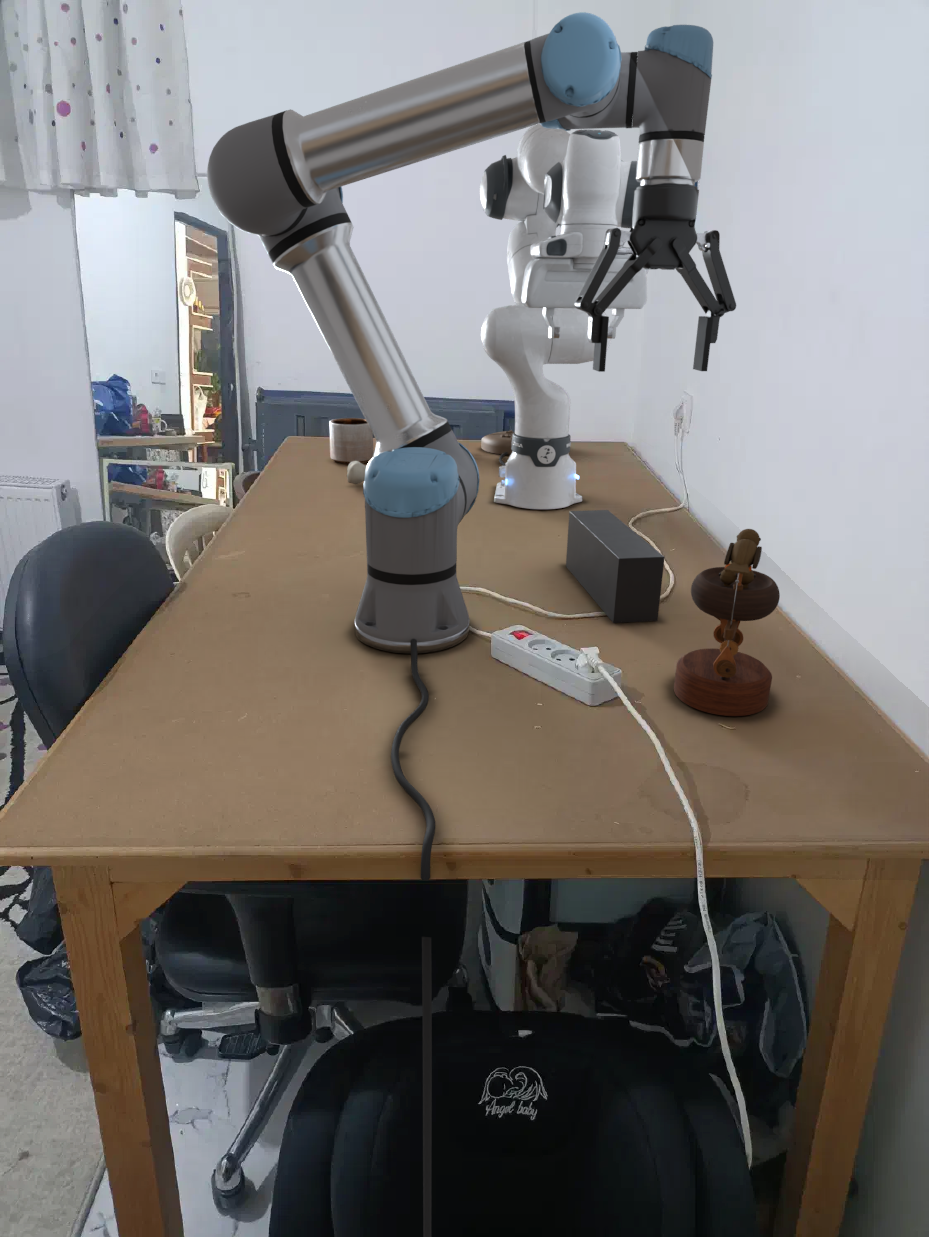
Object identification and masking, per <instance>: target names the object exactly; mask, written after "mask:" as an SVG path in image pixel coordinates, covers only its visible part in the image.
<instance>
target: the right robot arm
mask: <svg viewBox="0 0 929 1237" xmlns="http://www.w3.org/2000/svg"><path fill="white" fill-rule="evenodd" d="M621 151H622V150H621V140H620V136H619V134H617V133H615V132H614V131H611V130H601V129H576V130H575V131H573V132H571V133H569V131H565V130H563V129H549V128H544V127H543V126H541V124H540V123H539V124H536V125H533V126H530V127H528V129H526V130H525V131H524V133H523V134H522V135H521V137H520V140H519V142H518V145H517V151H516V156H515V157H513V158H512V157H508V158H507V154H504V155H502V156H501V159H499V160H496V161H494V162H492V163H491V164H489V165H488V166H487V167H486V168H485V169H484V171H483V173H482V174H483V175H482V177H481V180H480V183H479V201H480V203H481V207H482V210H483V212H484V214H485V215H486V216H487V217H489V218H491V219H495V220H500V221H502V220H509V221H517V222H518V221H519V222H518V223H516V224H515V226H514V227H513V228H512V229H511V231H510V232H509V236H508V238H507V250H506V263H507V264H506V265H507V272H508V273H507V274H508V277H509V278H508V279H509V285H510V292H511V297H512V300H513V301H514V303H515V304H511V305H504V306H501V307H496V308H492V309H491V310H490V311H489V312H488V313H487V314H486V316H485V317H484V320H483V322H482V324H481V329H480V341H481V345H482V348H483V350H484V352H485V354H486V355H487V356H488V358H490V359H491V361H493V362H494V363H496V364H497V365H498V367H500V369H502V371H503V373H504V374H505V375H506V376H507V378H508V381H509V383H510V385H511V389H512V392H513V399H514V400H513V401H514V431H513V432H514V433H513V437H512V442H511V443H512V447H511V449H512V453H511V455H509V457H508V459H507V461H506V462H504V461H503V458H504V457H505V456H508V455H507V454H508V452H505V453H503V454H499V455H500V456H499V457H498V462H499V464H500V465H501V466H499V467H498V477H499V478H504V479H501V480H500V482H497V484H496V488H495V492H494V493H495V494H494V496H493V497H494V498H493V503H496V504H502V505H508V506H512V507H516V508H522V509H530V510H556V509H562V508H567V507H569V506H571V505H573V504H578V503H581V502H583V496H582V495H580V494H579V493H577V491H576V490H577V489H576V487H577V486H576V485H577V480H580V475H578V474H577V463H576V461H574V459H573V458H571V456H570V454H569V453H571V446H572V441H571V435H570V434H569V433H570V419H571V404H572V402H571V397H570V395H569V393H568V392H567V390H566V389H565V388H564V387H562V386H560V385H559V384H557V383H556V382H554V381H553V380H550V379H548V378H547V377H545V374H544V370H543V368H544V365H578V364H584V363H589V362H593V358H594V343H590V342H589V341H588V325H589V316H588V314H587V313H586V312H584V311H582V310H579V309H577V308H576V307H575V302H576V300H577V298H578V296H579V294H580V292H581V290H582V288H583V286H584V284H585V282H586V280H587V278H588V276H589V274H590V272H591V270H592V269H593V267H594V265H595V263H596V261H597V259H598V257H599V255H600V253H601V251H602V249H603V245H604V239H605V233H606V231H607V230H608V229H612V228H622V229H623V228H624V229H629V230H630V229H631V227H632V216H633V204H634V192H635V190H636V188H637V187H639V186H640V182H637V180H636V170H637V160H631V161H625V160H622V152H621ZM558 227H559V229H560V232H559V234H558V235H556V233H557V228H558ZM632 254H633V252H632V250H631V248H630V247H627V246H623V247H622V248H621V249H618V252H617V254H616V256H615V258H614V260H613V262H612V264H611V266H610V268H609V270H608V272H607V274H606V276H605V278H604V280H603V282H602V283H601V285H600V287H599V289H598V291H597V293H596V295H595V297H594V299H593V301H592V303H593V302H594V301H595V299H596V298H597V297H598V296H599V295H600V294H601V292H602V291H603V290H604V289H605V288H606V286H607V285H608V284H609V283H610V282H611V280H612V279H613V278H614V277H615V276H616V274H617V273H618V272H619V271H620V270H621V268H622V267H623V265H624V263H625V262H626V261H627V260H628V259H629V257H630V256H631V255H632ZM649 270H650V269H644V268H642V269H641V270H640V271H639V272H638V273H636V275H635V276H634V277H633V278H632V279H631V280H630V282H629V283H628V284H627V285H626V286H625V288H624V289H623V290H622V291H621V292H620V294H619V295H618V296H617V297H616V298H615V299H614V301H613V302H612V303H611V304H610V305H609V307H608V308H607V309H606V310H609V309H611V316H614V317H613V318H612V320H609V323H608V336H607V350H606V352H607V351H608V350H609V349H610V345H611V344H612V343H611V342H612V340H613V339H616V336H617V328H618V327H619V325H620V324H621V322H622V320H623V319H624V317H625V310H642V309H643V308H644V307H645V305H646V304H647V301H648V276H647V275H648V273H649ZM602 316H608V315H607V314H606V313H605V311H604V312H603V314H602Z"/></svg>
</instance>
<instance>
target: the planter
mask: <svg viewBox="0 0 929 1237" xmlns="http://www.w3.org/2000/svg"><path fill="white" fill-rule="evenodd" d="M328 424H329V425H328V426H329V453H330V454H329V455H330V456H329V457H330V459H331V460H332V461H333V462H335V463H341V464H350V463H351V462H353V461H359V462H360V463H361V464H364V463H367V462H368V463H369V461H370V460H371V459H372V458H373V453H374V450H375V449H374V435H373V433H372V431H371V429H370V427H369V425H368V423H367V421H366V419H365V418H362V417H361V418H360V417H342V418H341V417H340V418H335V419H334V418H333V419H331V420H329V421H328Z"/></svg>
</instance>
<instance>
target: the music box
mask: <svg viewBox="0 0 929 1237" xmlns="http://www.w3.org/2000/svg"><path fill="white" fill-rule="evenodd" d="M761 541H762V538H761V537H760V535H759V532H757V531H756V530H755V529H753V528H745V529H742V530H741V531H740V532H738V534H736V542H730V543H729V545H728V548H727V550H726V553H725V556H724V561H723V564H724V565H725V566H716V567H709V568H705V569H704V570H702V571H701V572H699V573H698V574H697V575H696V576H695V578H694V579H693V581H692V584H691V587H690V595H691V599H692V601H693V603H694V604H695V606H696V607H697V608H699V610H700V611H702V612H703V613H704V614H707V615H709V616H712V617H713V618H715V619H717V620H718V621H719V622H720V624H717V625H716V626H715V627H714V629H713V638H714V640H715V641H716V642H717V643H720V645H719V648H700V649H696V650H692V651H690V652H688V653H686V654H684V655H683V656H681V657H679V659H678V660H677V661H676V666H675V667H676V668H675V673H674V674H675V676H674V684H673V691H674V694H675V696H676V697H677V698H678V699H679V700H680V701H681V702H682V703H684V704H685V705H687V706H689V707H691V708H693V709H695V710H699V711H701V712H704V713H708V714H713V715H717V716H726V717H744V716H749V715H754V714H757V713H760V712H762V711H763V710H765V709H766V707H767V706H768V704H769V697H770V693H771V687H772V680H773V674H772V672H771V670H770V669H769V668H768V667H767V666H766V665H765V664H764V662H762V661H761V660H760V659H757V658H756V657H754V656H752V655H750V654H746V653H744V652H740V651H739V650H740V649H739V647H740V646H741V644H743V642H744V634H743V632H742V631H741V629H740V628H739V627H740V624H741V622H752V621H753V622H754V621H759V620H762V619H764V618H766V617H768V616H769V615H771V614H772V613H773V612H774V611H775V610H776V609H777V607H778V605H779V602H780V596H781V592H780V589H779V587H778V584H777V583H776V582H775V580H774V579H773V578H772V577H771V576H769V575H767V574H765V573H763V572H760V571H757V570H756V569H757V568H758V566H759V564H760V560H761V557H762V550H763V547H762V546H761V545H760V542H761ZM759 545H760V546H759Z"/></svg>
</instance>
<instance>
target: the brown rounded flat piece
mask: <svg viewBox="0 0 929 1237" xmlns="http://www.w3.org/2000/svg"><path fill="white" fill-rule="evenodd" d="M514 432H515V431H513V430H511V429H510V430H503V431H498V432H492V433H488V434H485V435H484V436H483V437H482V438H481V440H480V441H481V442H480V449H482V450H483V451H485V452H487V453H490V454H496V455H502V454H503V453H505V452H508V454H507V455H506V456H510V455H511V453H512V449H511V447H512V443H511V442H512V437H513V433H514Z"/></svg>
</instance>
